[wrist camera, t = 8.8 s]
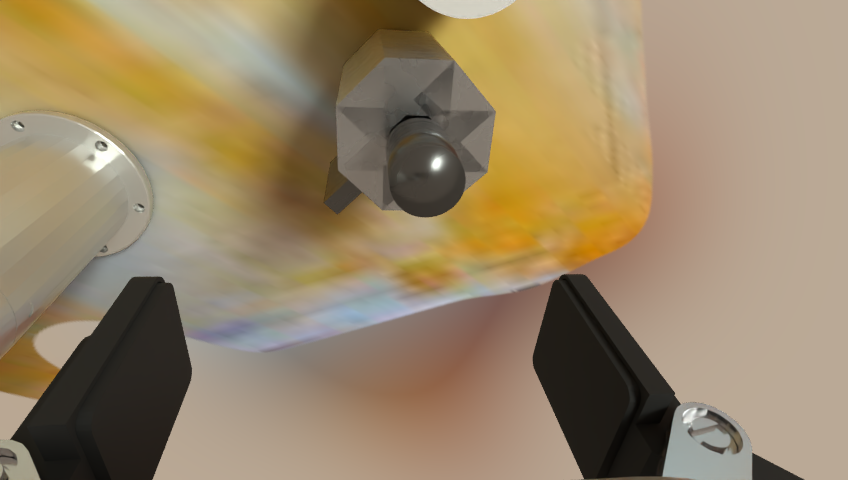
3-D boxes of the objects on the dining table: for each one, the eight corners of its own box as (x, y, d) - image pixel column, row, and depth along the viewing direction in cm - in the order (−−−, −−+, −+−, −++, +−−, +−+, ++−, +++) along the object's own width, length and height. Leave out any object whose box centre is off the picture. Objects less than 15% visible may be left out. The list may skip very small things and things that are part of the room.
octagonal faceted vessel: (376, 186, 41) (380, 261, 31) (296, 113, 37) (270, 171, 27) (479, 94, 38) (521, 143, 28) (404, 2, 34) (422, 20, 24)
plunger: (401, 126, 37) (424, 230, 23) (369, 93, 36) (373, 182, 21) (434, 95, 36) (480, 183, 22) (403, 60, 35) (431, 130, 20)
